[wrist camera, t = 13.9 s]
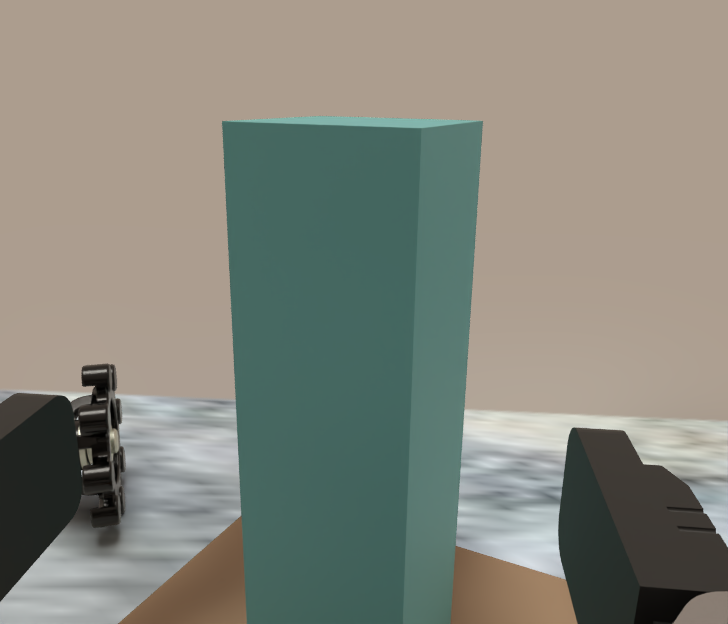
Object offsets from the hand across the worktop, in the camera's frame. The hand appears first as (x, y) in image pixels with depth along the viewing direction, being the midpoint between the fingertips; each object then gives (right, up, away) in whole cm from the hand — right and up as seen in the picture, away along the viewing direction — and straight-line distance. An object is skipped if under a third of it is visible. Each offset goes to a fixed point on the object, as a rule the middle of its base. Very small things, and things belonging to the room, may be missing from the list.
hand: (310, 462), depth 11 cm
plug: (+1, -8, +9) cm, 12 cm away
